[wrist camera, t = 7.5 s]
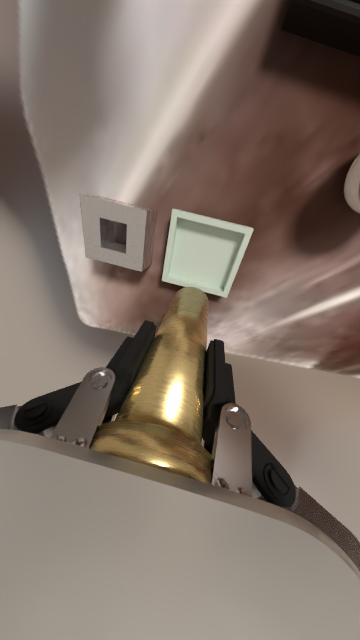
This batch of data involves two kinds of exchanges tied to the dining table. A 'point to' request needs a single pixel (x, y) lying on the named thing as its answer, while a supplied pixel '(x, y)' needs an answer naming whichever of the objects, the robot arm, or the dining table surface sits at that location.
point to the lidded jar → (353, 185)
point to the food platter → (326, 22)
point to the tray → (204, 252)
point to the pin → (167, 397)
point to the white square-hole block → (102, 232)
